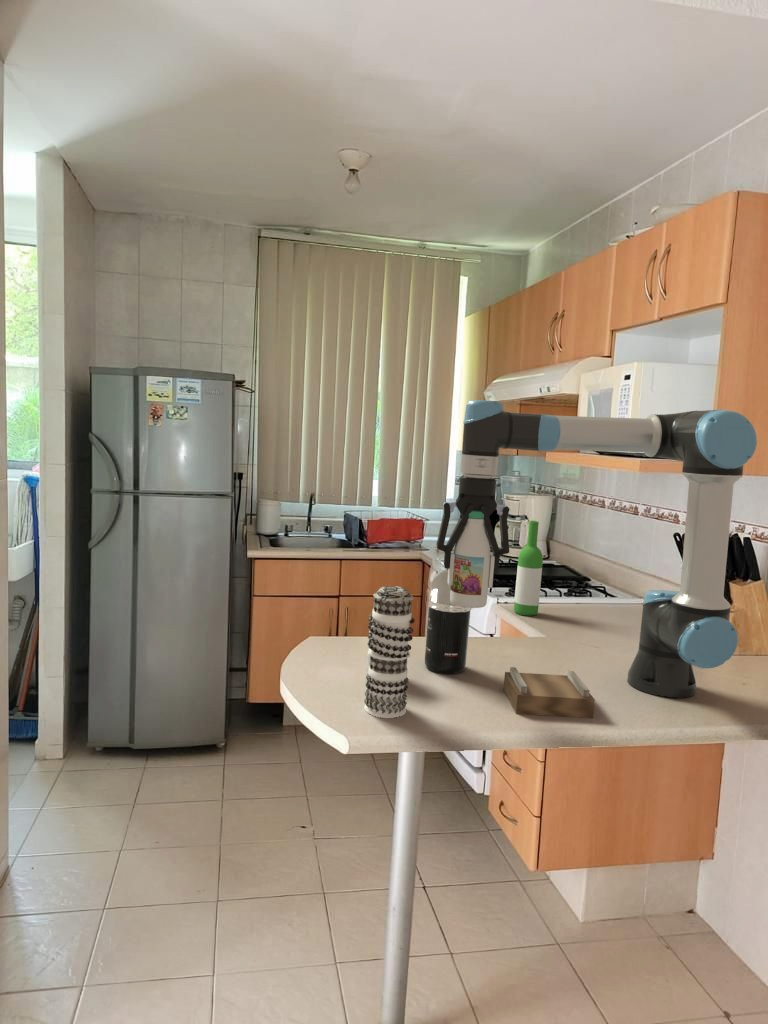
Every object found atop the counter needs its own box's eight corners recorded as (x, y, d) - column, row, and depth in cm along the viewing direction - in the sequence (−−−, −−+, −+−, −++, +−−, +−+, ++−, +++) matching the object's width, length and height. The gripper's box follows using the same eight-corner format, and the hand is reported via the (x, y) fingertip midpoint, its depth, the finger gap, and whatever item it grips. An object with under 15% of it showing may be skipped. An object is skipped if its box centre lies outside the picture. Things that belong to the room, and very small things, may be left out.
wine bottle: (509, 610, 238) (517, 519, 234) (531, 610, 240) (540, 520, 236) (519, 616, 230) (527, 522, 227) (541, 616, 232) (550, 523, 229)
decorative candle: (379, 697, 154) (387, 581, 151) (416, 709, 148) (425, 589, 146) (353, 709, 146) (361, 587, 143) (391, 722, 141) (400, 596, 138)
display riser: (573, 693, 164) (576, 669, 164) (592, 717, 150) (595, 692, 150) (503, 689, 164) (505, 665, 163) (515, 713, 150) (518, 687, 149)
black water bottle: (428, 675, 170) (436, 569, 167) (419, 660, 180) (427, 561, 177) (471, 675, 171) (480, 571, 168) (459, 661, 181) (468, 562, 178)
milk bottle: (462, 598, 159) (469, 506, 156) (493, 605, 154) (501, 511, 151) (442, 603, 153) (449, 508, 150) (473, 610, 148) (481, 513, 146)
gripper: (430, 474, 146) (422, 585, 149) (531, 480, 147) (521, 591, 149) (427, 471, 154) (419, 578, 156) (523, 478, 154) (514, 583, 157)
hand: (469, 584), depth 153 cm, fingers closed on milk bottle, 8 cm apart
